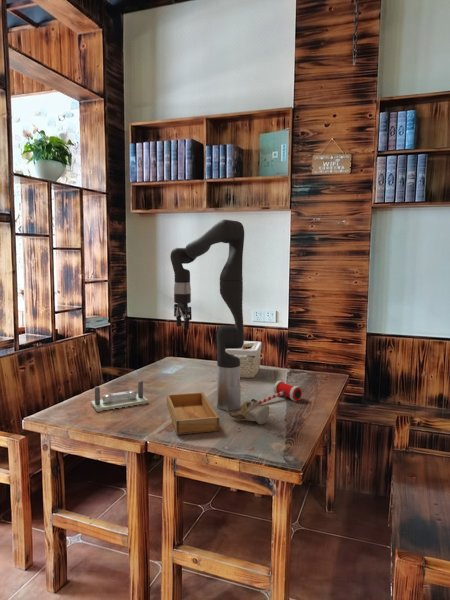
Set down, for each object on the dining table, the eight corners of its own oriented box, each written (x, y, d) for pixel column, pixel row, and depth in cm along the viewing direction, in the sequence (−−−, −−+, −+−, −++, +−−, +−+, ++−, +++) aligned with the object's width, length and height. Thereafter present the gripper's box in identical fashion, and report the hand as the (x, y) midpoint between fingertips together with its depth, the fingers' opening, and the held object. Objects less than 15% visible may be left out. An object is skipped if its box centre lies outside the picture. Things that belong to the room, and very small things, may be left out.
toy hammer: (264, 411, 182) (264, 395, 181) (244, 403, 191) (244, 388, 190) (302, 399, 196) (303, 385, 195) (282, 393, 205) (283, 379, 204)
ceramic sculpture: (260, 405, 161) (227, 399, 171) (261, 429, 162) (227, 422, 171) (276, 398, 170) (243, 392, 179) (277, 421, 170) (244, 414, 179)
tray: (166, 407, 186) (166, 393, 186) (203, 404, 190) (203, 391, 189) (176, 437, 156) (176, 420, 156) (219, 433, 160) (219, 417, 159)
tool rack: (140, 396, 198) (139, 377, 197) (148, 403, 189) (147, 383, 188) (91, 404, 188) (90, 384, 187) (96, 412, 179) (96, 391, 178)
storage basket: (233, 366, 252) (233, 339, 250) (262, 367, 248) (262, 340, 247) (224, 377, 228) (224, 348, 227) (256, 379, 225) (256, 350, 223)
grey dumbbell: (134, 396, 193) (134, 389, 193) (137, 399, 190) (137, 392, 189) (101, 401, 186) (101, 394, 186) (103, 404, 183) (103, 397, 183)
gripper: (168, 291, 210) (169, 326, 212) (181, 294, 198) (181, 331, 200) (183, 290, 214) (183, 325, 216) (196, 293, 202) (196, 329, 203)
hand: (182, 327), depth 208 cm, fingers open, 8 cm apart
